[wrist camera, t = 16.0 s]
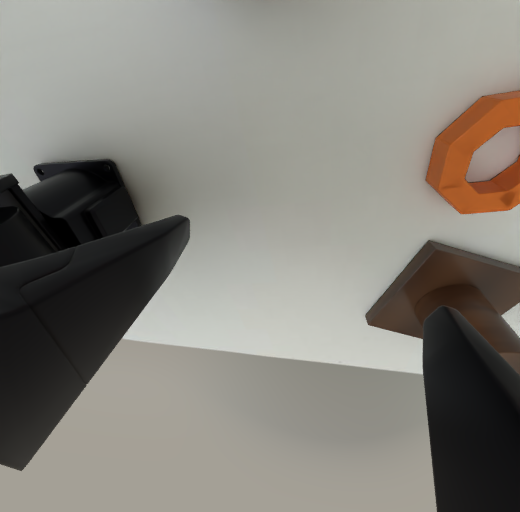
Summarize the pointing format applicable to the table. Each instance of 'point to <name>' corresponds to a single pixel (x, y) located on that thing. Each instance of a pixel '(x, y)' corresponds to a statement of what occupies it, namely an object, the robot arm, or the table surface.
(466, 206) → the ring
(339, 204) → the table surface
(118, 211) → the robot arm
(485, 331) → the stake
